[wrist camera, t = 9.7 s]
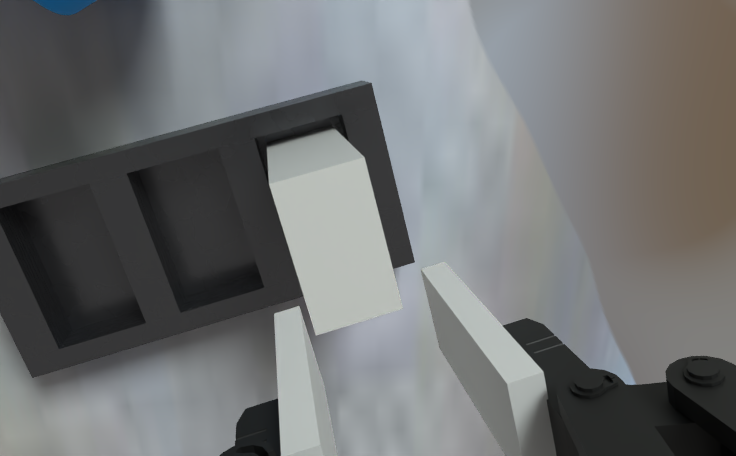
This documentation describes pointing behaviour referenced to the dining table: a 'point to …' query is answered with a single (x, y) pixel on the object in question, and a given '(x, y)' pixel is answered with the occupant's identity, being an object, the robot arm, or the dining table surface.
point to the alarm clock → (64, 5)
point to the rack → (167, 231)
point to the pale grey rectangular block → (332, 228)
